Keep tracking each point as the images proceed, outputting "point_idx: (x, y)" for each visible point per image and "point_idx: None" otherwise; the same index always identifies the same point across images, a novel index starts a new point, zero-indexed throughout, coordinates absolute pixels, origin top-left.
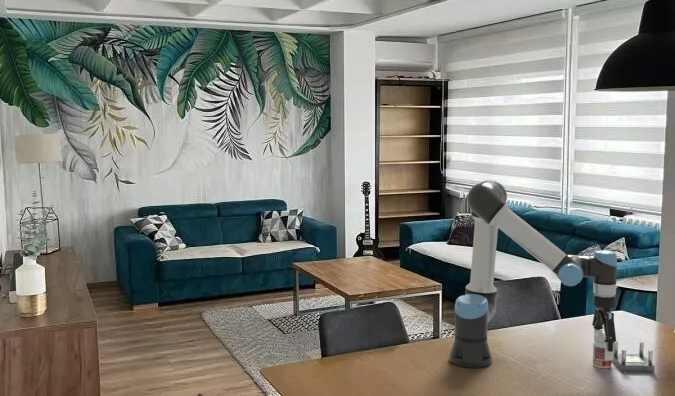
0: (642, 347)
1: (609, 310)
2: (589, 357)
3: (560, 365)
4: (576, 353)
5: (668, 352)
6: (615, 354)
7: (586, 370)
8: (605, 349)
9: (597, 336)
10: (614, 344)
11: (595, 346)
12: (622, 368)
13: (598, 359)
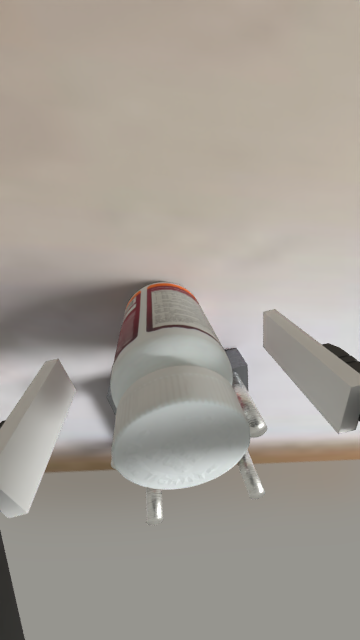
0: (242, 475)
1: None
2: (268, 270)
3: (93, 65)
4: (325, 209)
5: (313, 460)
6: None
7: (69, 245)
8: (14, 411)
9: (132, 417)
10: (246, 414)
11: (135, 340)
12: (110, 389)
13: (123, 319)
